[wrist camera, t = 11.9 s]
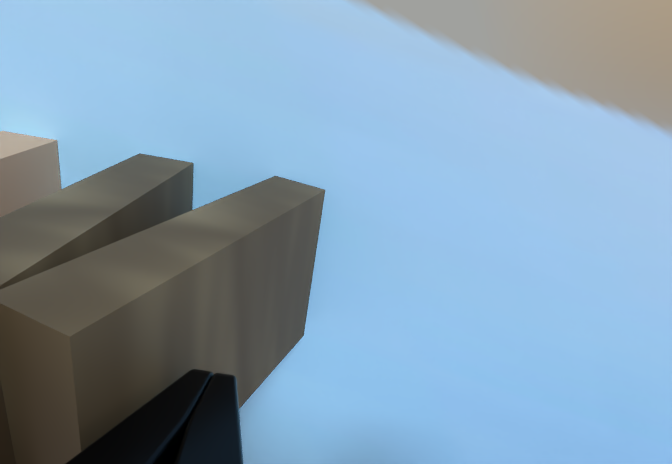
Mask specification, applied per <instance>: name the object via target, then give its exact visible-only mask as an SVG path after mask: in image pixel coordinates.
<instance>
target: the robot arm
mask: <svg viewBox="0 0 672 464" xmlns="http://www.w3.org/2000/svg"><path fill="white" fill-rule="evenodd" d="M65 464H243V455H242V442H241V430H240V417H239V405H238V392H237V380H236V377H235V376H234V375H229V374H223V373H215V374H213V373H212V372H211V371H205V370H199V369H192V370H190V371H188V372H187V373H186V374H184V375H183V376H182V377H180V378H179V379H178V380H176V381H175V382H174V383H172V384H171V385H170V386H168V387H167V388H166V389H164V390H163V391H162V392H160V393H159V394H158V395H156V396H155V397H154V398H152V399H151V400H150V401H148V402H147V403H146V404H144V405H143V406H142V407H140V408H139V409H138V410H136V411H135V412H134V413H132V414H131V415H130V416H128V417H127V418H126V419H124V420H123V421H122V422H120V423H119V424H118V425H116V426H115V427H114V428H112V429H111V430H110V431H108V432H107V433H106V434H104V435H103V436H102V437H100V438H99V439H98V440H96V441H95V442H94V443H92V444H91V445H89V446H88V447H87V448H85V449H84V450H83V451H81V452H80V453H79V454H77V455H76V456H75V457H73V458H72V459H71V460H69V461H68V462H67V463H65Z"/></svg>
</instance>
